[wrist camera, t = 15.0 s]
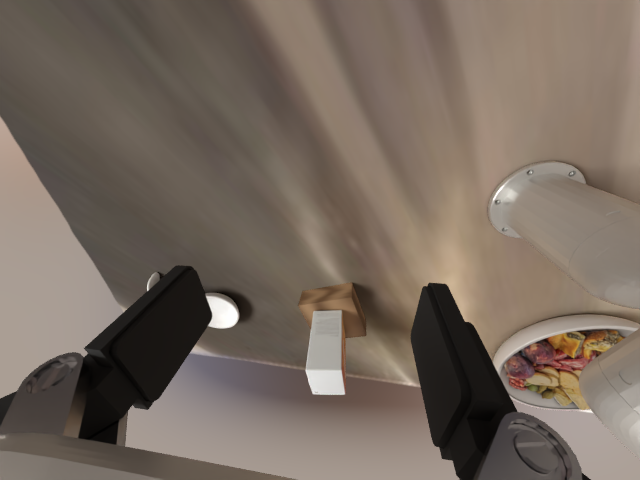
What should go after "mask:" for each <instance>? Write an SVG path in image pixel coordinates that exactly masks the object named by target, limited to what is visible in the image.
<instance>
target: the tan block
mask: <svg viewBox="0 0 640 480" xmlns="http://www.w3.org/2000/svg"><path fill="white" fill-rule="evenodd" d="M298 306H299V308H300V310H301V312H302V314H303V316H304V318H305V320H306V321H307V323H308V325H309V327H310V329H311V327H312V319H313V312H314V311H331V310H342V315H343V323H344V330H345V338H351V337H360V336H366V319H365V316H364V313H363V311H362V308H361V305H360V303H359V300H358V297H357V294H356V292H355V289H354V286H353V284H352V283H346V284H340V285H335V286H329V287H323V288H318V289H312V290H306V291H302V295H301V298H300V301H299V305H298Z"/></svg>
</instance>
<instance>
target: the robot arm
mask: <svg viewBox="0 0 640 480" xmlns="http://www.w3.org/2000/svg"><path fill="white" fill-rule="evenodd" d="M488 217H489V221H490V222H491V224H492V226H494V228H495V229H496V230H498V231H499V232H500V233H502V234H504V235H506V236H509V237H513V238H523V239H524V240H526V241H527V242H528V243H529V244H530V245H532V246H533V247H534V248H535V249H536V250H538V251H539V252H540V253H541V254H542V255H543V256H545V257H546V258H547V259H548V260H549V261H551V262H552V263H553V264H554V265H555V266H556V267H558V268H559V269H560V270H561V271H562V272H564V273H565V274H566V275H567V276H568V277H570V278H571V279H572V280H573V281H575V282H576V283H577V284H578V285H579V286H581V287H582V288H583V289H584V290H586V291H587V292H588V293H590V294H592V295H593V296H595V297H597V298H599V299H601V300H604V301H606V302H609V303H612V304H616V305H620V306H624V307H629V308H635V309H640V204H637V203H635V202H632V201H629V200H627V199H624V198H621V197H618V196H616V195H613V194H610V193H608V192H605V191H602V190H600V189H597V188H594V187H591V186H589V185H586V181H585V178H584V176H583V174H582V173H581V172H580V171H579V170H578V169H577V168H575V167H573V166H571V165H569V164H566V163H562V162H557V161H545V162H538V163H534V164H531V165H528V166H526V167H523V168H521V169H519V170H517V171H516V172H514V173H513V174H511V175H510V176H508V177H507V178H506V179H505V180H504V181H502V183H501V184H500V185H499V186H498V187H497V188H496V190H495V191H494V193H493V194H492V196H491V199H490V201H489V205H488ZM211 320H212V311H211V309H210V306H209V303H208V300H207V298H206V295H205V292H204V290H203V287H202V284H201V282H200V279H199V276H198V274H197V272H196V271H195V270H194V269H193V267H191V266H179V265H178V266H175V267H174V268H173V269H172V270H170V271H169V272H168V273H167V274H166V275H165V276H164V277H163V278H162V279H160V280H159V281H158V282H157V283H156V284H155V285H154V286H153V287H152V288H150V289H149V290H148V291H147V292H146V293H145V294H144V295H143V296H142V297H140V298H139V299H138V300H137V301H136V302H135V303H134V304H133V305H132V306H130V307H129V308H128V309H127V310H126V311H125V312H124V313H123V314H122V315H120V316H119V317H118V318H117V319H116V320H115V321H114V322H113V323H112V324H110V325H109V326H108V327H107V328H106V329H105V330H104V331H103V332H102V333H100V334H99V335H98V336H97V337H96V338H95V339H94V340H93V341H92V342H90V343H89V344H88V345H87V346H86V347H85V348H84V349H85V350H86V351H87V352H88V354H87V355H86V356H85V357H83V356H82V355H81V354H80V353H76V352H72V353H66V354H63V355H59V356H57V357H55V358H53V359H50V360H49V361H47V362H45V363H44V364H42V365H40V366H39V367H38V368H36V369H35V370H34V371H33V372H31V373H30V374H29V375H28V377H26V378H25V379H24V380H23V382H22V384H21V385H20V387H19V388H18V390H17V391H16V392H14V393H12V394H10V395H7V396H5V397H3V398H1V399H0V480H295V479H291V478H286V477H281V476H276V475H271V474H265V473H260V472H255V471H250V470H245V469H240V468H234V467H229V466H224V465H219V464H214V463H209V462H203V461H198V460H193V459H188V458H183V457H177V456H172V455H167V454H162V453H156V452H151V451H145V450H140V449H135V448H130V447H125V441H126V427H127V416H128V410H129V409H130V407H131V406H132V405H133V406H134V407H135V408H140V409H146V410H148V409H149V407H150V406H151V405H152V403H153V402H154V401H155V400H157V399H158V398H159V397H160V396H161V395H162V393H163V392H164V390H165V389H166V387H167V386H168V384H169V383H170V381H171V380H172V378H173V377H174V375H175V374H176V372H177V371H178V369H179V368H180V366H181V365H182V363H183V362H184V360H185V359H186V357H187V356H188V354H189V353H190V352H191V350H192V349H193V347H194V346H195V344H196V343H197V341H198V340H199V338H200V337H201V335H202V334H203V332H204V331H205V329H206V328H207V326H208V325H209V323H210V322H211ZM411 343H412V348H413V353H414V358H415V362H416V367H417V372H418V376H419V381H420V386H421V390H422V395H423V400H424V404H425V409H426V413H427V418H428V423H429V428H430V432H431V437H432V440H433V444H434V445H435V446H436V447H439V448H440V452H441V456H442V459H446V460H452V461H453V463H454V467H455V471H456V475H457V476H458V477H459V478H460V480H590V479H589V478H588V477H587V476H585V475H584V474H583V473H582V471H581V467H580V465H579V462H578V460H577V458H576V455H575V454H574V453H573V451H572V450H571V448H570V447H569V445H568V444H567V443H566V442H565V440H564V439H563V438H562V437H561V436H560V435H559V434H558V433H557V432H556V431H554V430H553V429H552V428H551V427H550V426H548V425H547V424H546V423H545V422H543V421H541V420H539V419H537V418H535V417H534V416H531V415H528V414H525V413H522V412H517V410H516V408H515V406H514V404H513V402H512V400H511V398H510V396H509V394H508V392H507V390H506V388H505V386H504V384H503V382H502V380H501V378H500V376H499V374H498V372H497V370H496V368H495V366H494V364H493V362H492V360H491V359H490V357H489V355H488V353H487V351H486V349H485V347H484V345H483V343H482V341H481V339H480V337H479V335H478V333H477V331H476V329H475V327H474V326H473V325H472V324H471V323H469V322H465V321H464V319H463V317H462V315H461V313H460V311H459V309H458V307H457V305H456V302H455V300H454V298H453V296H452V294H451V292H450V290H449V288H448V286H447V285H446V284H439V283H429V284H428V286H427V287H426V286H424V287H423V288H422V292H421V296H420V300H419V304H418V308H417V312H416V316H415V319H414V323H413V327H412V331H411ZM579 388H580V391H581V394H582V396H583V398H584V400H585V401H586V403H587V405H588V406H589V408H590V409H591V410H592V412H593V413H594V414H595V415H596V416H597V418H598V419H599V420H600V421H601V422H602V424H603V425H604V426H605V427H606V428H607V429H608V430H609V431H610V432H611V433H612V434H613V435H614V436H615V437H616V438H617V439H618V440H619V441H620V442H621V443H622V444H623V445H624V446H625V447H626V448H627V449H628V450H630V451H631V452H632V453H633V454H634V455H635V456H636V457H637V458H638V459H639V460H640V328H639V329H638V330H636V331H635V332H633V333H632V334H630V335H629V336H627V337H626V338H624V339H623V340H621V341H620V342H618V343H617V344H615V345H614V346H612V347H611V348H609V349H608V350H606V351H605V352H603V353H602V354H601V355H599V356H598V357H597V358H595V359H594V360H592V361H591V362H590V363H589V364H587V365H586V366H585V368H584V369H583V370H582V371H581V373H580V376H579Z"/></svg>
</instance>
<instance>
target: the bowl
mask: <svg viewBox="0 0 640 480" xmlns="http://www.w3.org/2000/svg"><path fill="white" fill-rule="evenodd" d="M639 328H640V324H639V323H636V322H633V321H630V320H627V319H623V318H618V317H613V316H606V315H593V314H583V315H570V316H563V317H557V318H552V319H548V320H545V321H541V322H538V323H535V324H533V325H530V326H528V327H526V328H524V329H522V330H520V331H518V332H517V333H515V334H514V335H512V336H511V337H509V338H508V339H507V340H506V341H505V342H504V343H503V344H502V345H501V346H500V348H499V349H498V351H497V352H496V354H495V357H494V360H493V364H494V366H495V368H496V370H497V372H498V374H499V376H500V378H501V380H502V382H503V384H504V386H505V388H506V390H507V392H508V394H509V396H510V398H511V399H512V400H514V401H516V402H518V403H521V404H524V405H527V406H530V407H535V408H540V409H547V410H559V411H575V410H588V409H590V408H589V406H588V405H587V403H586V401H585V400H584V398H583V396H582V394H581V391H580V388H579V376H580V373H581V371H582V370H583V369H584V368H585V366H586V365H587V364H589V363H590V362H591V361H592V360H594V359H595V358H597V357H598V356H599V355H601V354H602V353H603V352H605V351H606V350H608V349H609V348H611V347H612V346H614V345H615V344H617V343H618V342H620V341H621V340H623V339H624V338H626V337H627V336H629V335H630V334H632V333H633V332H635V331H636V330H638V329H639Z"/></svg>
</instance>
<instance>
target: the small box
mask: <svg viewBox="0 0 640 480" xmlns="http://www.w3.org/2000/svg"><path fill="white" fill-rule="evenodd" d="M306 373H307V377H308V381H309V384H310V387H311V390H312V393H313V394H323V395H324V394H325V395H326V394H327V395H345V394H346V371H345V330H344V323H343V315H342V310H331V311H314V312H313V319H312V327H311V334H310V341H309V349H308V356H307V364H306Z"/></svg>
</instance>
